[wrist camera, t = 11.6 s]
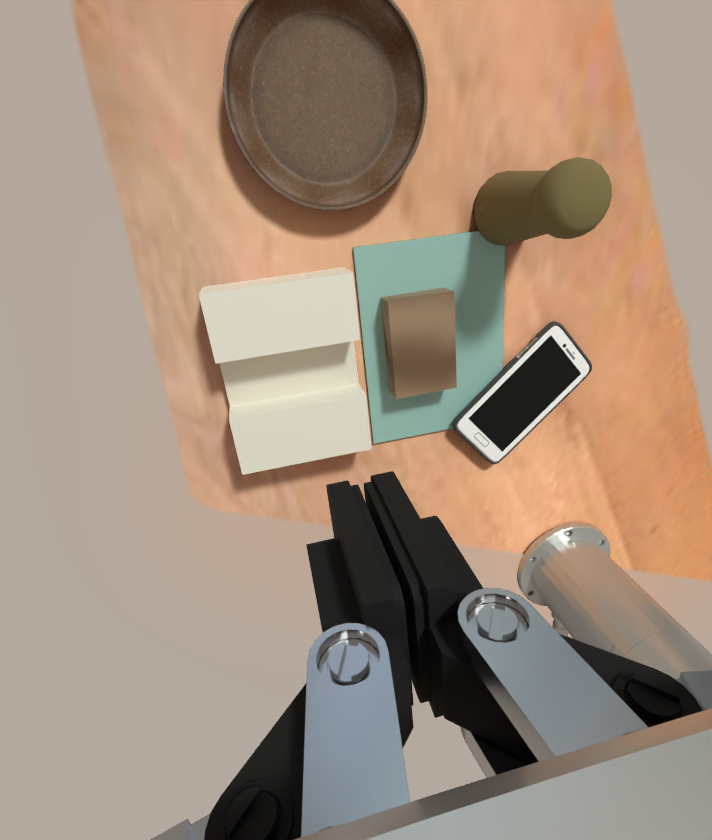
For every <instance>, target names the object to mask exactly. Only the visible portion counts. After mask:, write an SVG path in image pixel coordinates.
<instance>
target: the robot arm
mask: <svg viewBox="0 0 712 840" xmlns="http://www.w3.org/2000/svg"><path fill="white" fill-rule="evenodd" d="M364 492H365V500H366V502H365V500H364V498H363V495H362V493H361V490H360V488H359V486H358V485H353V486H350V483H349V481H343V482H338V483H333V484H328V485H327V494H328V500H329V507H330V513H331V519H332V526H333V532H334V539H329V540H325V541H320V542H316V543H311V544H307V550H308V555H309V561H310V567H311V571H312V577H313V583H314V588H315V593H316V599H317V604H318V610H319V615H320V620H321V626H322V631H323V633H322V634H321V635H320V636H319V637H318V638H317V639H316V640H315V642H314V644H313V645H312V647H311V649H310V651H309V656H308V661H307V683H306V684H305V686H304V687H303V688H302V690H301V691H300V692H299V693H298V695H297V696H296V697H295V699H294V700H293V701H292V703H291V704H290V705H289V707H288V708H287V709H286V711H285V712H284V713H283V715H282V716H281V717H280V719H279V720H278V721H277V723H276V724H275V725H274V727H273V728H272V730H270V732H269V733H268V734H267V736H266V737H265V738H264V740H263V741H262V742H261V744H260V745H259V747H258V748H257V749H256V750H255V752H254V753H253V754H252V756H251V757H250V758H249V760H248V761H247V762H246V764H245V765H244V766H243V768H242V769H241V770H240V771H239V773H238V774H237V775H236V777H235V778H234V779H233V781H232V782H231V783H230V785H229V786H228V787H227V789H226V790H225V791H224V793H223V794H222V795H221V796H220V798H219V800H218V802H217V803H216V805H215V807H214V808H213V810H212V812H211V814H209V815H207V816H205V817H204V818H202V819H200V820H198V821H197V822H195V823H193V824H190V822H189V820H188V819H187V820H185V821H183V822H181V823H180V824H178V825H176V826H174V827H172V828H171V829H169V830H167V831H165V832H164V833H162V834H160V835H158V836H157V837H155V838H153V839H151V840H712V654H711V653H710V652H709V651H708V650H707V649H706V648H704V646H702V645H701V644H700V643H699V642H698V641H697V640H696V639H695V638H694V637H693V636H692V635H691V634H690V633H689V632H688V631H687V630H686V629H685V628H684V627H682V626H681V625H680V624H679V623H678V622H677V621H676V620H675V619H674V618H673V617H672V616H671V615H670V614H669V613H668V612H667V611H666V610H665V609H664V608H662V606H660V605H659V604H658V603H657V602H656V601H655V600H654V599H653V598H652V597H651V596H650V595H649V594H648V593H647V592H646V591H645V590H644V589H643V588H642V587H640V586H639V585H638V584H637V583H636V582H635V581H634V580H633V579H632V578H631V577H630V576H629V575H628V574H627V573H626V572H625V571H624V570H623V569H622V568H621V567H619V566H618V565H617V564H616V563H615V562H614V561H613V560H612V559H611V558H610V545H609V542H608V540H607V538H606V536H605V535H604V534H603V533H602V532H601V531H599V530H598V529H597V528H596V527H594V526H592V525H590V524H586V523H569V524H564V525H561V526H558V527H555V528H553V529H551V530H549V531H548V532H546V533H544V534H543V535H542V536H540V537H539V538H538V539H537V540H536V541H534V542H533V543H532V544H531V546H530V547H529V548H528V549H527V551H526V552H525V554H524V555H523V557H522V559H521V561H520V564H519V567H518V572H517V580H518V584H519V587H520V589H521V590H522V592H523V594H524V595H525V596H526V597H527V598H528V599H529V600H530V601H532V602H534V603H536V604H539V605H544V606H548V608H549V609H550V610H551V611H552V617H553V618H554V621H553V627H552V626H551V625H550V624H549V623H548V622H547V621H546V620H545V619H544V618H543V617H542V616H541V615H540V614H539V613H538V612H537V611H536V609H535V608H533V606H532V605H531V604H530V603H529V602H527V601H526V600H525V599H524V598H522V597H521V596H520V595H517V594H515V593H513V592H511V591H508V590H503V589H500V588H484V589H483V587H482V586H481V584H480V583H479V581H478V579H477V578H476V576H475V574H474V573H473V572H472V570H471V568H470V567H469V565H468V563H467V562H466V560H465V559H464V557H463V555H462V554H461V552H460V551H459V549H458V548H457V546H456V544H455V543H454V541H453V540H452V538H451V536H450V535H449V533H448V532H447V530H446V529H445V527H444V525H443V524H442V522H441V521H440V519H439V518H438V517H437V516H432V517H427V518H423V519H420V517H419V516H418V514H417V512H416V510H415V509H414V507H413V505H412V503H411V501H410V500H409V498H408V496H407V494H406V493H405V491H404V489H403V487H402V486H401V484H400V482H399V480H398V479H397V477H396V475H395V473H394V472H393V471H391V472H386V473H382V474H377V475H372V476H371V482H367V483H364ZM568 632H569V634H570V635H571V636H572V637H573V639H572V638H570V637H567V636H568ZM411 679H412V681H411ZM412 682H413V685H414V688H415V691H416V693H417V696H418V699H419V701H420V703H423V702H427V701H429V703H430V706H431V708H432V711H433V714H434V716H435V718H436V717H439V716H442V715H444V718H445V719H447V720H449V721H451V722H453V723H455V724H457V725H459V726H460V727H461V732H462V734H463V737H464V739H465V742H466V743H467V745H468V747H469V749H470V750H471V752H472V754H473V755H474V757H475V759H476V761H477V762H478V764H479V766H480V767H481V769H482V771H483V773H484V774H485V776H486V778H485V779H483V780H479V781H476V782H473V783H470V784H466V785H464V786H460V787H457V788H454V789H451V790H447V791H444V792H441V793H438V794H435V795H432V796H428V797H425V798H422V799H419V800H416V801H413V802H410V797H409V790H408V783H407V776H406V770H405V762H404V755H403V746H404V745H405V743H406V741H407V739H408V737H409V735H410V733H411V731H412V729H413V718H412V705H413V694H412Z"/></svg>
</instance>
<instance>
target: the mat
mask: <svg viewBox="0 0 712 840" xmlns="http://www.w3.org/2000/svg"><path fill="white" fill-rule="evenodd" d="M353 253H354V263H355V273H356V282H357V292H358V302H359V311H360V321H361V331H362V340H363V350H364V360H365V369H366V379H367V389H368V398H369V408H370V417H371V427H372V437H373V443H374V444H376V443H381V442H386V441H391V440H396V439H401V438H406V437H411V436H416V435H421V434H426V433H432V432H437V431H442V430H447V429H452V428H453V426H452V423H453V421H454V419H455V418H456V417H457V416H458V415H459V414H460V413H461V412H462V411H463V409H464V408H465V407H466V406H467V405H468V404H469V403H470V402H471V401H472V400H473V399H474V398H475V397H476V396H477V395H478V394H479V393H480V392H481V391H482V390H483V389H484V388H485V387H486V386H487V385H488V384H489V383H490V382H491V381H492V380H493V379H494V378H495V377H496V376H497V375H498V374H499V373H500V372H501V371H502V362H503V320H504V278H505V246H502V245H494V244H492V243H491V242H489V241H487V240H485V238H484V237H483V236H482V235H481V234H480V233H479V231H473V232H466V233H458V234H451V235H443V236H436V237H428V238H421V239H413V240H406V241H398V242H391V243H383V244H376V245H368V246H361V247H354V248H353ZM443 287H444V288H446V289H449V290H452V291H454V299H455V336H456V374H457V388H452V389H447V390H442V391H437V392H432V393H426V394H421V395H416V396H411V397H405V398H400V399H396V398H395V397H394V396H393V395H392V393H391V392H390V391H389V385H388V375H387V364H386V353H385V342H384V331H383V320H382V309H381V298H380V297H386V296H393V295H399V294H405V293H411V292H418V291H424V290H430V289H437V288H443Z"/></svg>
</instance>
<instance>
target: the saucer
mask: <svg viewBox="0 0 712 840" xmlns="http://www.w3.org/2000/svg"><path fill="white" fill-rule="evenodd" d="M223 79H224V83H223V85H224V98H225V105H226V111H227V115H228V119H229V123H230V126H231V128H232V131H233V134H234V136H235V139H236V141H237V143H238V145H239V147H240V149H241V151H242V153H243V154H244V156H245V158H246V159H247V161H248V162H249V164H250V165H251V166H252V168H253V169H254V170H255V171H256V173H257V174H258V175H259V176H260V177H261V178H262V179H263V180H264V181H265V182H266V183H267V184H268V185H269V186H271V187H272V188H273V189H274V190H276V191H277V192H278V193H280V194H281V195H283V196H285V197H286V198H288V199H290V200H292V201H294V202H296V203H298V204H301V205H304V206H307V207H310V208H314V209H320V210H343V209H349V208H353V207H357V206H360V205H362V204H365V203H367V202H369V201H371V200H373V199H375V198H376V197H378V196H379V195H381V194H382V193H384V192H385V191H386V190H387V189H388V188H390V187H391V186H392V185H393V184H394V183H395V182H396V181H397V180H398V178H399V177H400V176H401V175H402V173H403V172H404V171H405V169H406V168H407V166H408V164H409V163H410V161H411V160H412V158H413V156H414V154H415V152H416V149H417V147H418V145H419V142H420V139H421V136H422V132H423V128H424V123H425V118H426V111H427V79H426V70H425V65H424V60H423V56H422V52H421V49H420V45H419V43H418V40H417V38H416V36H415V33H414V31H413V29H412V27H411V25H410V24H409V22H408V20H407V18H406V17H405V15H404V14H403V12H402V11H401V9H400V8H399V7H398V6H397V4H396V3H395V2H394V1H393V0H249V1H248V2H247V4H246V5H245V7H244V8H243V10H242V11H241V13H240V15H239V17H238V19H237V21H236V23H235V25H234V28H233V30H232V33H231V36H230V39H229V43H228V47H227V51H226V56H225V64H224V77H223Z"/></svg>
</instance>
